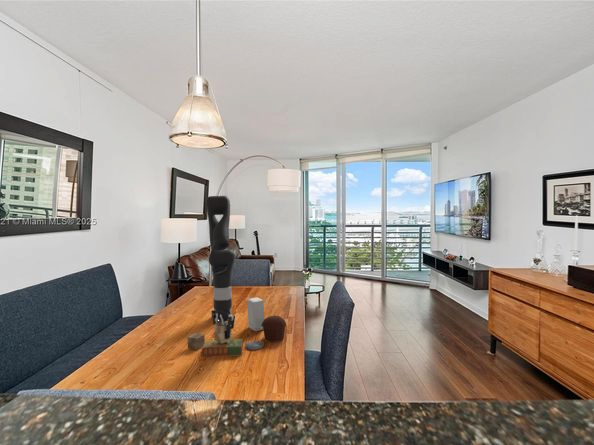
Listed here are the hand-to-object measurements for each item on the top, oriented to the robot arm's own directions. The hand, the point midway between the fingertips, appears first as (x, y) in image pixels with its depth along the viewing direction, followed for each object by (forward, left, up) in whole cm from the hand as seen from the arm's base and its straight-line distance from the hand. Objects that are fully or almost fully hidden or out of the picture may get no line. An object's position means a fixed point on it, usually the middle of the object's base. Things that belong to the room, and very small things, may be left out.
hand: (223, 336), depth 132 cm
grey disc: (+6, +12, -6) cm, 15 cm away
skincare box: (-10, +27, -7) cm, 30 cm away
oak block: (0, 0, -1) cm, 1 cm away
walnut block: (-13, -5, -6) cm, 15 cm away
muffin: (+6, +24, -7) cm, 26 cm away
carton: (0, 0, -7) cm, 7 cm away
